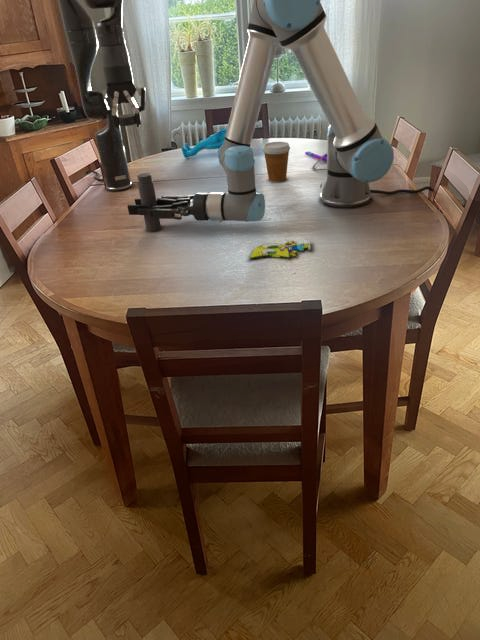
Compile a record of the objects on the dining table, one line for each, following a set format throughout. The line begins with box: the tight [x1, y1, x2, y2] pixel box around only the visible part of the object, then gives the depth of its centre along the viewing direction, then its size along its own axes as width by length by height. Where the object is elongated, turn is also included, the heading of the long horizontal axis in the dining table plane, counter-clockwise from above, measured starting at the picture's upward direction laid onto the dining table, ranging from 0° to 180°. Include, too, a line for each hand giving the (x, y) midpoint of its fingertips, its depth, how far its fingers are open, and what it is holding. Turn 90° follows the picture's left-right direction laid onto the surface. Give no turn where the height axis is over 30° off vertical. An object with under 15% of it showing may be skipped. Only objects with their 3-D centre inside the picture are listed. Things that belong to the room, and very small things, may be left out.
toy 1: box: [180, 128, 227, 159], centre depth 204 cm, size 17×11×30 cm
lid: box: [118, 113, 137, 127], centre depth 141 cm, size 5×5×2 cm
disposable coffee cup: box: [262, 141, 291, 183], centre depth 169 cm, size 10×10×12 cm
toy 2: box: [249, 240, 312, 260], centre depth 122 cm, size 10×1×15 cm
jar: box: [136, 172, 162, 233], centre depth 137 cm, size 4×4×16 cm
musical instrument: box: [304, 151, 327, 171], centre depth 185 cm, size 24×2×20 cm
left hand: (128, 127), depth 143 cm, fingers closed on lid, 5 cm apart
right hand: (132, 206), depth 139 cm, fingers closed on jar, 4 cm apart
